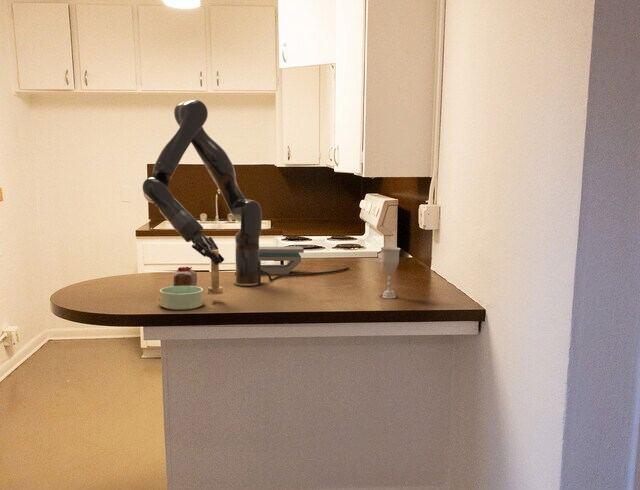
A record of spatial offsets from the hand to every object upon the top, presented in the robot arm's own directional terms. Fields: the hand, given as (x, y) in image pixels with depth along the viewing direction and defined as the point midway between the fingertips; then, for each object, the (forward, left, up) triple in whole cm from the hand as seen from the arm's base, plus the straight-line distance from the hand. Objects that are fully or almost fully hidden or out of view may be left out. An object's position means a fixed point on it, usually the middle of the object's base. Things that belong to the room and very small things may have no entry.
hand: (220, 262), depth 226 cm
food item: (+9, -19, -14) cm, 25 cm away
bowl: (+14, +1, -14) cm, 20 cm away
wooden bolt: (+2, -1, -11) cm, 11 cm away
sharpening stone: (-35, -50, -14) cm, 63 cm away
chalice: (-60, +10, -14) cm, 63 cm away
